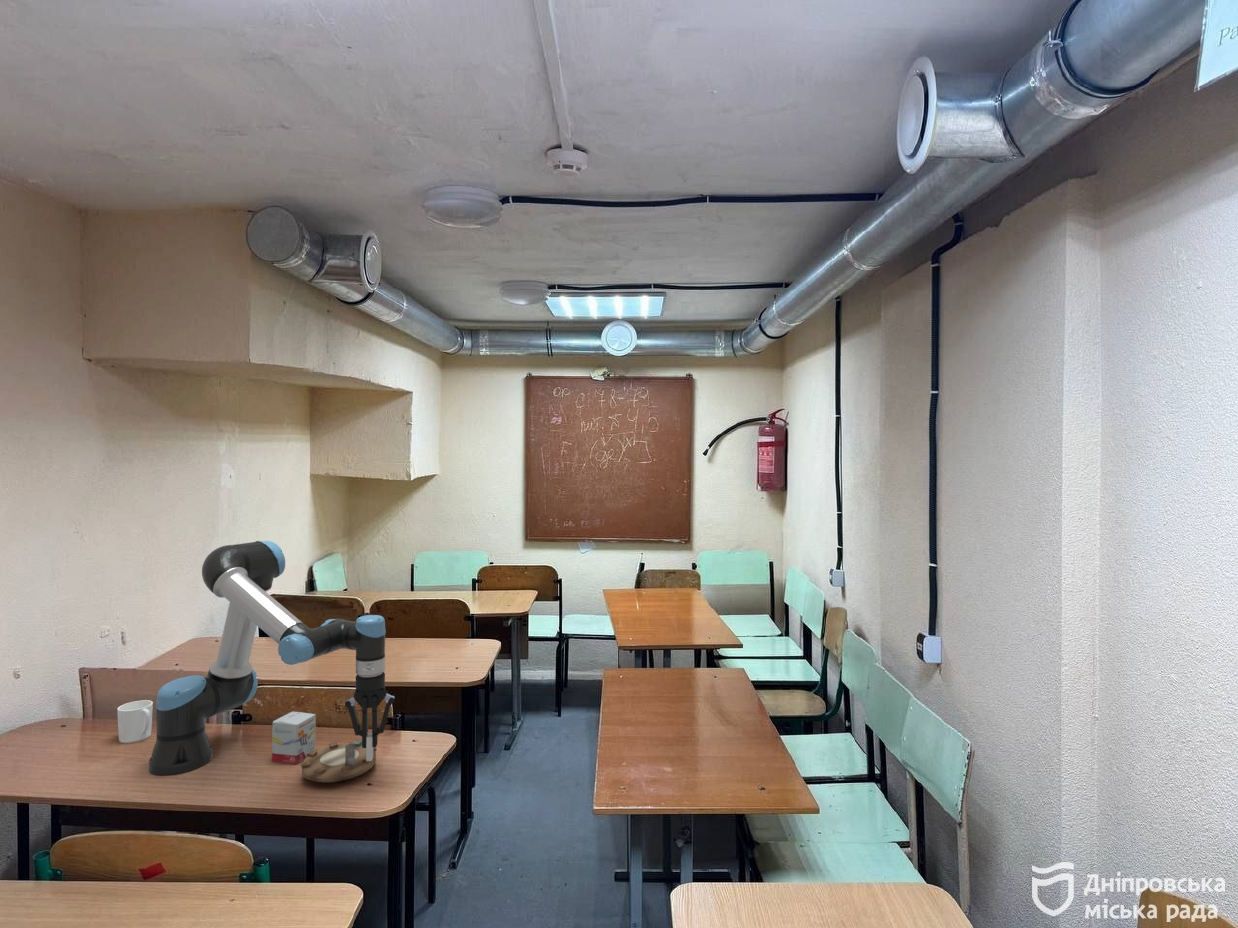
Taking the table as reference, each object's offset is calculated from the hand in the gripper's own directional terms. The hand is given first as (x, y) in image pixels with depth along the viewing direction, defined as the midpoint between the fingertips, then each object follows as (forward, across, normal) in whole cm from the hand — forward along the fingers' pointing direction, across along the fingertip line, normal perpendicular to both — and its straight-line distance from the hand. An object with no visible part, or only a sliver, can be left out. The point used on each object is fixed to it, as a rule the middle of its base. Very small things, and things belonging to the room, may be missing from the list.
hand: (369, 758), depth 177 cm
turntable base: (+6, -9, +6) cm, 12 cm away
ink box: (+6, -23, +20) cm, 31 cm away
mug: (+6, -74, +44) cm, 86 cm away
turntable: (+4, -9, +6) cm, 11 cm away
